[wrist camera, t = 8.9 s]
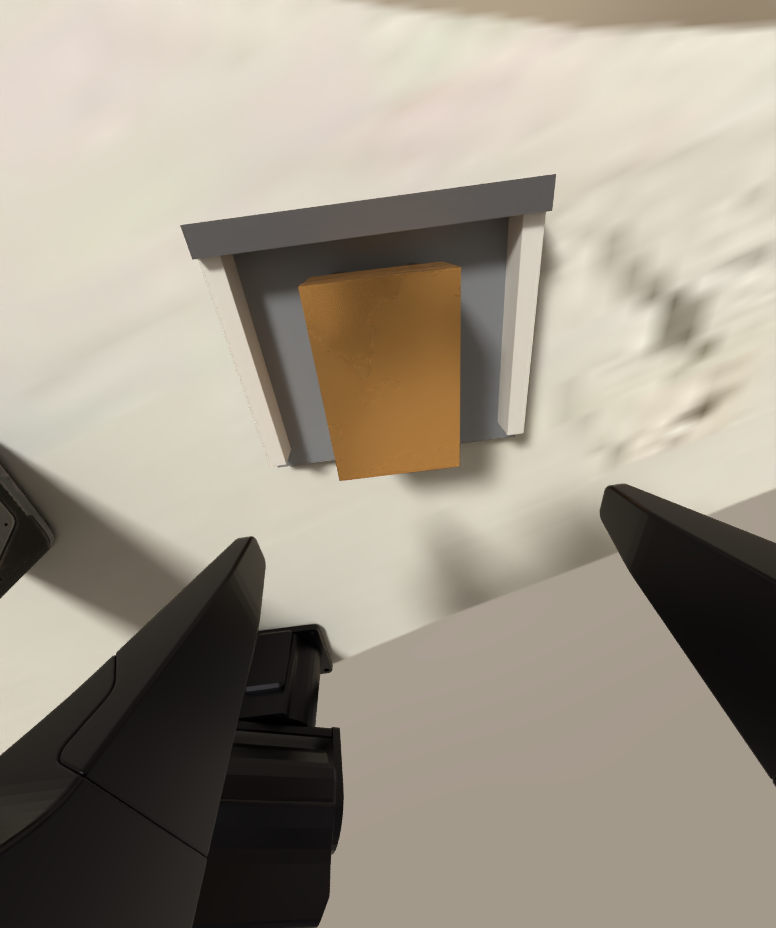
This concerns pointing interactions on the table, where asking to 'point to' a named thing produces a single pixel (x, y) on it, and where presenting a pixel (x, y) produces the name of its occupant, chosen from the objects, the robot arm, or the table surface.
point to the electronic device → (19, 533)
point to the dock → (372, 247)
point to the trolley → (388, 366)
